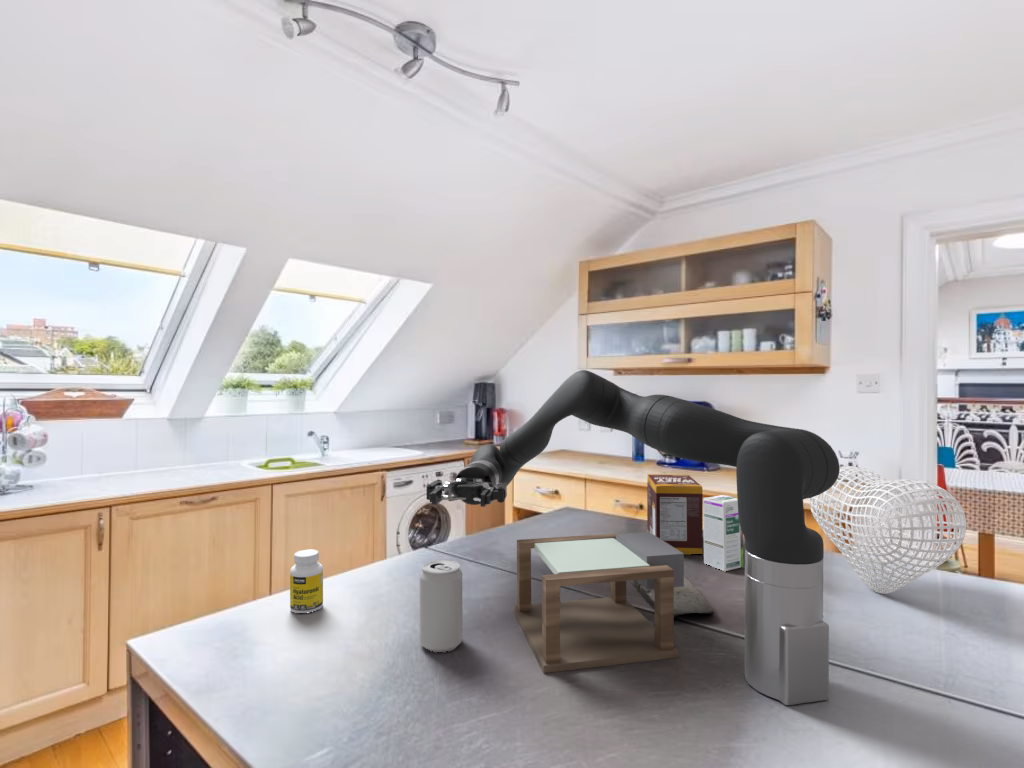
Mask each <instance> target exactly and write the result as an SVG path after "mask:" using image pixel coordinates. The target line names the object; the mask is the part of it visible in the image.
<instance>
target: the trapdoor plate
mask: <svg viewBox="0 0 1024 768" xmlns="http://www.w3.org/2000/svg"><path fill="white" fill-rule="evenodd" d="M620 533H621V532H620ZM534 551H535V552H536V553H537V554H538V556H539V557H540V558H541V559H542V561H543V562H544V563H545V565H546V566H547V567H548V568H549V570H550V571H551V572H552V574H562V573H575V572H588V571H600V570H613V569H626V568H639V567H651V566H664V565H667V566H669V567H670V568H672V569H673V570H674V587H684V577H685V575H684V574H685V567H684V565H685V563H684V562H685V554H684V553H682V552H680V551H679V550H677V549H676V548H674V547H672V546H671V545H669V544H668V543H666V542H664V541H663V540H661V539H660V538H658V537H656V536H655V535H653V534H652V533H650V532H647V531H640V532H636V531H635V532H623V533H621V534H616V539H614V538H606V539H591V540H576V541H561V542H546V543H535V548H534ZM636 581H637V582H638V583H640V584H641V585H642V586H643V587H644V588H645V589H647V590H650V589H654V582H655V578H654V579H642V580H636Z"/></svg>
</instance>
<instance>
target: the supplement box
mask: <svg viewBox="0 0 1024 768" xmlns="http://www.w3.org/2000/svg"><path fill="white" fill-rule="evenodd" d="M646 483H647V489H646V491H647V496H646V498H647V499H646V500H647V501H646V502H647V503H646V504H647V507H646V509H647V511H646V514H647V515H646V517H647V522H646V523H647V525H646V527H647V529H646V530H647V531H646V532H650V533H652V534H653V535H655V536H656V537H658V538H660V539H661V540H663V541H664V542H666V543H668V544H669V545H671V546H672V547H674V548H676V549H677V550H679V551H680V552H682V553H684V555H691V554H703V555H704V531H703V498H704V496H703V491H704V490H703V486H702V485H701V484H700V483H698V481H696V480H695V479H694V478H693V477H691V476H690V475H689V474H670V473H669V474H667V473H665V474H663V473H660V474H658V473H657V474H656V473H647V482H646Z"/></svg>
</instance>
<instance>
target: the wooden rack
mask: <svg viewBox="0 0 1024 768" xmlns="http://www.w3.org/2000/svg"><path fill="white" fill-rule="evenodd" d="M616 534H621V532H617V533H616V532H615V533H603V534H601V533H600V534H587V535H573V536H572V535H571V536H558V537H557V536H555V537H540V538H524V539H517V540H516V605H513V613H514V614H513V615H515V617H516V619H517V622H518V624H519V626H520V628H521V630H522V632H523V634H524V636H525V638H526V640H527V642H528V644H529V646H530V648H531V650H532V653H533V655H534V656H535V659H536V661H537V663H538V665H539V667H540V669H541V671H542V672H543V674H548V673H555V672H564V671H565V672H566V671H573V670H582V669H593V668H597V667H598V668H600V667H608V666H617V665H624V664H626V665H627V664H635V663H642V662H644V663H645V662H651V661H653V662H654V661H659V660H660V661H661V660H667V659H668V660H670V659H676V658H679V653H680V652H679V649H678V648H677V647H675V644H674V643H675V640H674V638H675V636H674V634H675V633H674V630H675V629H674V628H675V627H674V626H675V625H674V624H675V622H674V618H675V617H674V570H673V569H672V568H670V567H669V566H667V565H664V566H651V567H639V568H626V569H613V570H600V571H588V572H575V573H562V574H554V573H551V574H542V575H541V595H542V597H541V603H533V604H532V549H535V543H546V542H561V541H576V540H591V539H606V538H614V539H616ZM654 578H655V582H654V609H653V611H654V625H653V624H652V623H651V622H650V621H649V619H647V618H646V617H645V616H644V615H643V614H642V613H641V612H640V611H639V610H638V609H637V608H636V607H635V606H634V605H633V604H632V603H631V602H629V600H628V599H627V581H629V582H630V580H642V579H654ZM602 583H603V584H604V583H610V596H609V597H600V598H598V597H597V598H588V599H576V600H566V601H561V587H570V586H579V585H580V586H581V585H590V584H591V585H593V584H602Z"/></svg>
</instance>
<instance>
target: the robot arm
mask: <svg viewBox="0 0 1024 768" xmlns="http://www.w3.org/2000/svg"><path fill="white" fill-rule="evenodd" d="M570 416H573V417H574V418H577V419H579V420H580V421H581V420H582V421H585V423H588V424H591V425H593V426H597V427H601V428H607V429H612V430H616V431H619V432H624V433H627V434H629V435H631V436H632V437H633V438H635V439H636V440H638V442H640V443H642V444H644V445H646V446H647V447H650V448H652V449H654V450H656V451H660V452H661V453H664V454H667V455H670V456H672V457H676V458H679V459H682V460H688V461H693V462H699V463H700V462H701V463H706V464H713V465H714V464H715V465H716V464H717V465H722V466H729V467H733V468H734V467H735V468H736V470H735V472H736V474H735V475H736V496H737V497H736V498H737V499H738V518H739V523H740V527H741V530H742V532H743V539H744V679H745V681H746V682H747V684H748V685H750V686H751V687H752V688H753V689H754V690H756V691H757V692H759V693H760V694H763V695H765V696H767V697H770V698H773V699H775V700H778V701H780V702H781V703H782V704H783V705H785V706H791V705H799V704H806V703H814V702H820V701H827V700H829V698H830V697H829V695H830V694H829V691H830V690H829V687H830V686H829V683H830V682H829V681H830V674H829V673H830V671H829V670H830V669H829V667H830V664H829V663H830V626H829V624H828V623H827V622H825V621H824V557H825V556H824V553H825V552H824V550H825V549H824V540H823V537H822V535H821V534H820V533H819V532H817V531H816V530H814V529H812V528H810V527H807V525H806V523H805V521H806V520H805V515H804V514H805V513H804V512H805V510H804V500H807V499H809V498H812V497H814V496H815V497H816V496H817V495H820V496H821V493H823V492H825V491H827V490H830V489H832V486H833V484H834V483H835V482H836V480H837V479H838V478H839V476H840V475H839V470H840V467H841V466H840V461H839V458H838V456H837V453H836V452H835V450H834V449H833V448H832V446H831V445H830V444H829V443H828V442H827V441H826V440H825V439H824V438H822V437H821V436H819V435H818V434H816V433H814V432H811V431H810V430H807V429H801V428H794V427H789V426H788V427H786V426H779V425H775V424H774V425H773V424H767V423H761V422H756V421H752V420H747V419H744V418H742V417H738V416H736V415H732V414H730V413H727V412H724V411H721V410H718V409H714V408H711V407H708V406H707V405H702V404H699V403H695V402H693V401H691V400H690V401H689V400H686V399H682V398H679V397H675V396H671V395H665V394H651V395H647V396H646V395H645V396H644V395H643V396H642V395H640V394H639V395H638V394H636V393H633V392H631V391H629V390H626V389H625V388H622V387H620V386H619V385H617V384H615V383H614V382H612V381H610V380H608V379H606V378H605V377H602V376H601V375H599V374H596V373H595V372H592V371H590V370H587V369H582V370H577V371H575V372H574V373H573V374H571V375H570V376H568V378H566V379H565V380H564V381H563V382H562V383H561V384H560V386H558V388H557V389H556V390H555V391H554V392H553V394H551V395H550V396H549V397H548V399H547V400H546V401H545V402H544V403H543V405H541V407H540V408H539V409H538V410H537V411H536V412H535V413H534V414H533V416H531V417H530V419H528V421H526V422H525V423H524V424H523V425H521V426H520V427H519V428H517V429H516V430H515V431H513V432H512V433H511V434H509V435H508V436H507V437H506V438H504V439H503V440H502V441H501V442H500V444H499V445H500V446H499V448H498V446H496V445H494V444H490V443H489V444H484V445H482V446H481V447H479V448H478V449H476V451H475V452H474V453H473V455H472V456H471V458H470V462H469V464H467V466H465V467H463V468H462V469H461V470H460V471H459V472H458V473H457V474H456V476H455V479H454V480H449V481H445V482H444V483H443V480H442V479H436V480H434V481H432V482H431V483H428V484H427V485H426V496H425V497H426V500H428V501H429V503H431V505H432V506H437V505H439V503H440V502H442V501H445V502H446V501H447V502H454V501H461V502H462V503H465V504H467V505H469V506H477V505H480V507H481V508H482V507H483V508H484V507H486V506H487V505H490V504H493V503H494V502H495V501H496V500H497V501H496V502H497V503H501V504H502V503H504V502H505V501H506V498H507V496H508V486H509V485H510V483H511V482H513V479H514V477H515V476H516V475H517V474H518V472H519V471H520V470H521V468H523V466H525V465H526V464H527V463H529V462H530V461H531V460H533V459H534V458H536V457H538V456H539V455H540V454H541V453H542V452H543V451H544V450H545V449H546V448H547V447H548V445H549V443H550V440H551V438H552V435H553V430H554V428H555V426H556V425H557V424H558V423H559V422H561V421H562V420H564V419H566V418H568V417H570ZM835 484H836V483H835ZM823 494H824V493H823Z"/></svg>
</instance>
